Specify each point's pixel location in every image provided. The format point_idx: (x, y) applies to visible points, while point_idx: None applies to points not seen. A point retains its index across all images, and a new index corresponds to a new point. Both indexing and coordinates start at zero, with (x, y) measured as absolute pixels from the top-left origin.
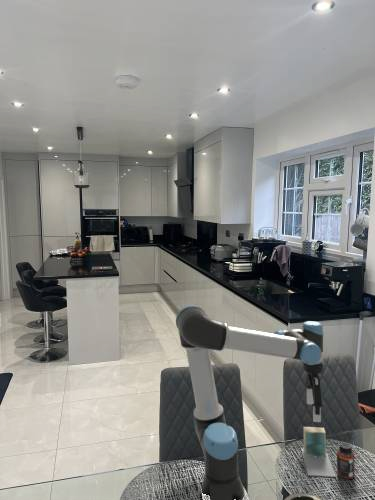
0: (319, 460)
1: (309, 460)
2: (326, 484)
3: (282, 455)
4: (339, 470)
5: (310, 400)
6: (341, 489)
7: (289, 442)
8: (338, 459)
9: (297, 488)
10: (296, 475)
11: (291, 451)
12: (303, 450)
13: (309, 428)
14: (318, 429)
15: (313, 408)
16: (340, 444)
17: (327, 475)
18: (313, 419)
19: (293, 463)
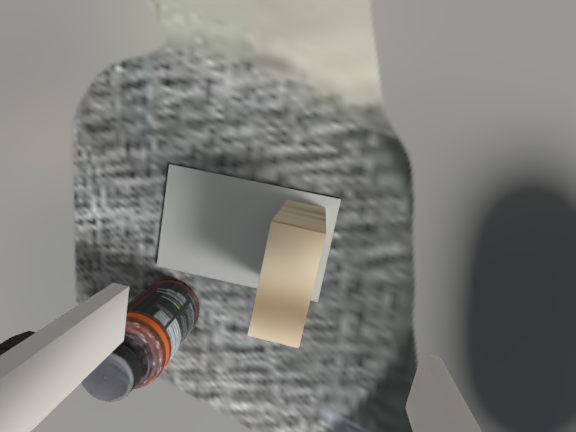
0: (248, 245)
1: (252, 204)
2: (125, 215)
3: (306, 98)
4: (151, 288)
5: (423, 409)
6: (101, 255)
7: (399, 163)
8: (134, 305)
9: (105, 98)
10: (174, 118)
11: (329, 150)
12: (322, 204)
13: (300, 263)
14: (284, 311)
15: (7, 352)
16: (112, 357)
17: (162, 237)
18: (103, 291)
19: (247, 131)
